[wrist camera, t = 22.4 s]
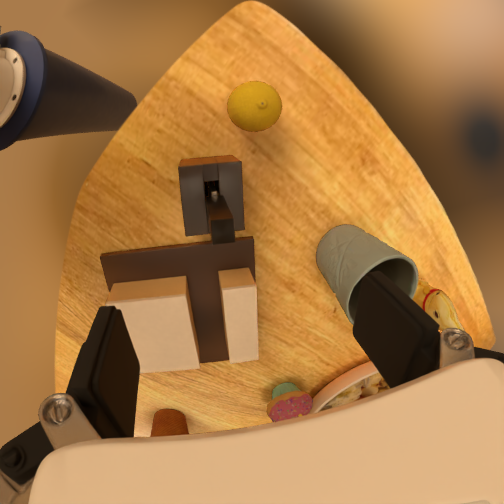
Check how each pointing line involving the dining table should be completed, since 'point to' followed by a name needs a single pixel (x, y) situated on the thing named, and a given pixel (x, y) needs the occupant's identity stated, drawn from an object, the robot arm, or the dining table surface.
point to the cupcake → (288, 402)
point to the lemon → (254, 106)
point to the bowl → (350, 388)
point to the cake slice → (239, 314)
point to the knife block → (193, 194)
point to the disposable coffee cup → (169, 423)
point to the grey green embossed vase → (360, 264)
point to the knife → (219, 217)
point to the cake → (159, 322)
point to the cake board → (188, 280)
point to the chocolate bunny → (436, 305)
